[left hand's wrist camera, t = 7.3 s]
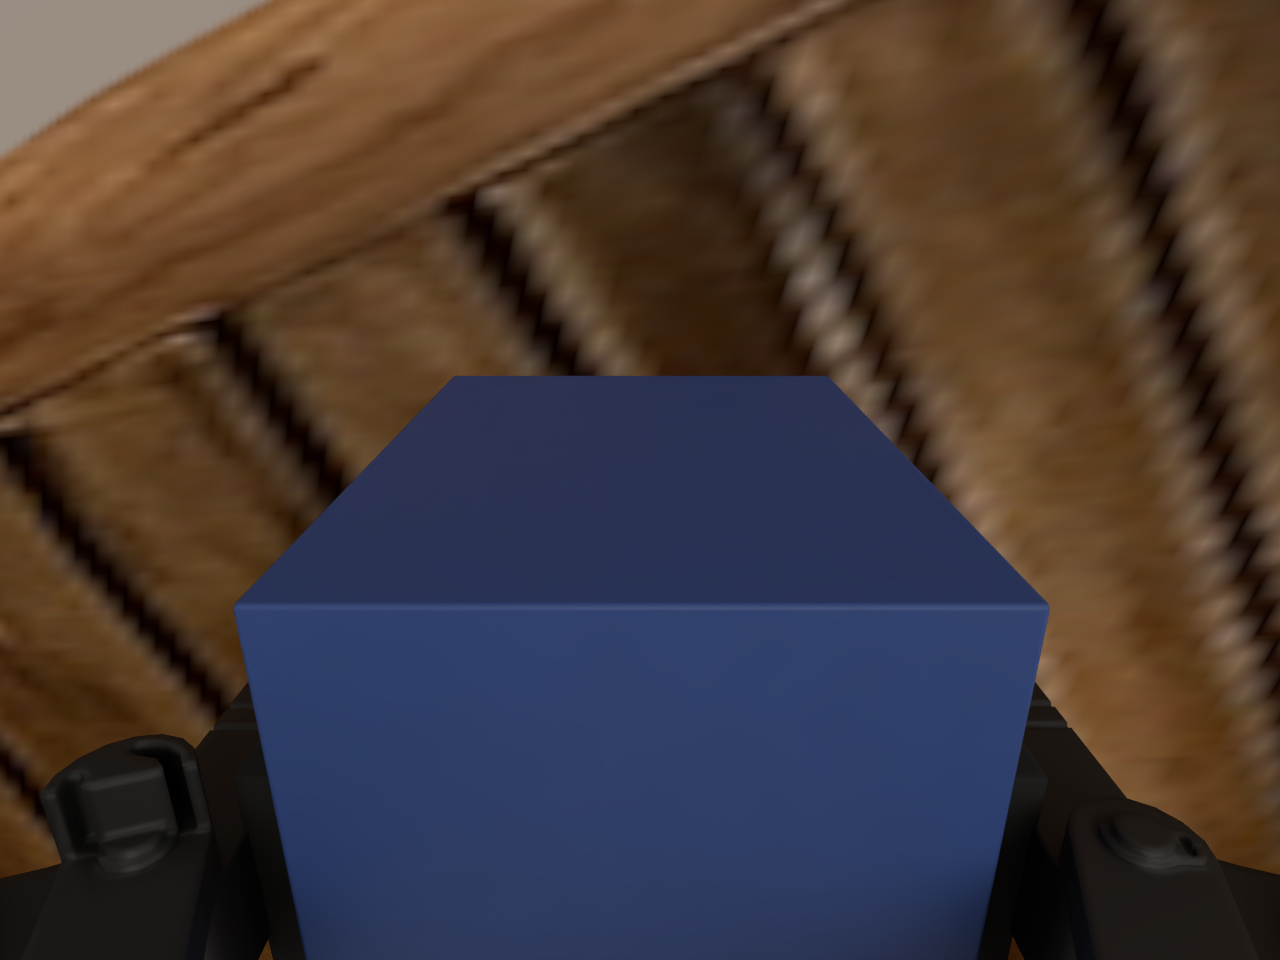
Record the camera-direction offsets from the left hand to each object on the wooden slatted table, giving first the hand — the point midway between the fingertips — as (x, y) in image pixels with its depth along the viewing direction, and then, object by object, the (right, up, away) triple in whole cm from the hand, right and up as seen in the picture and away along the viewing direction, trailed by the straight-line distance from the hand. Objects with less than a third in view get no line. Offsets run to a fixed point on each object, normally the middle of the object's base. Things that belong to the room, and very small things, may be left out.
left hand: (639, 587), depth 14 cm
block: (0, 0, +1) cm, 1 cm away
